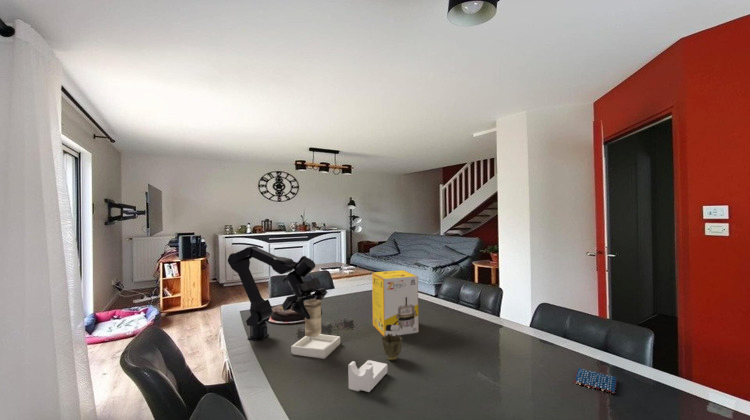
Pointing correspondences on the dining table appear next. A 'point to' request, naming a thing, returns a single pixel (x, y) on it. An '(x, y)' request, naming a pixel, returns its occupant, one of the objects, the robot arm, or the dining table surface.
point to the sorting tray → (316, 346)
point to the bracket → (365, 375)
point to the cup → (392, 346)
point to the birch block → (313, 318)
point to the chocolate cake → (285, 316)
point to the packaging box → (395, 302)
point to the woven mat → (595, 380)
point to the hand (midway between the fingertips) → (315, 316)
